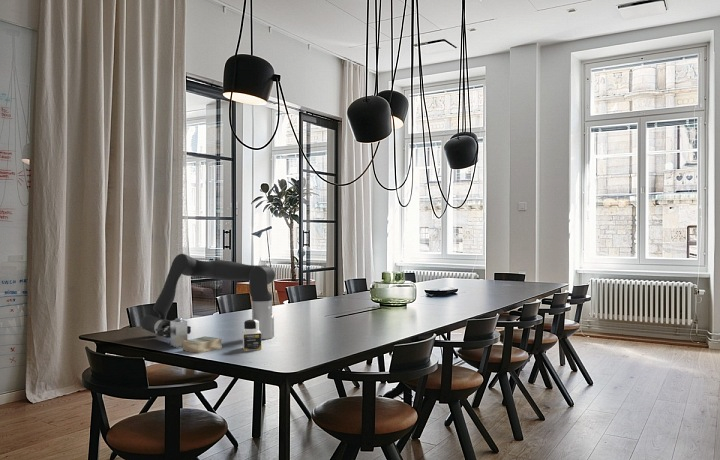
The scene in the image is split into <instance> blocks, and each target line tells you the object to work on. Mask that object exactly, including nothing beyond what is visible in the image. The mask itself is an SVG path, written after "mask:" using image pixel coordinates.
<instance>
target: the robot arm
mask: <svg viewBox="0 0 720 460" xmlns="http://www.w3.org/2000/svg"><path fill="white" fill-rule="evenodd" d="M182 275H184V276H186V277H206V278H209V279H215V280H219V281H229V282H231V281H233V282H235V281H237V282H238V281H247V282H248V285H249V286H248V287H249V295H250V298H251V320H258V321H259V330H260V332H261V340H269V339H272V338H274V337H275V318H274V317H275V316H273V295H272V293H271V292H269V287H268V285H270V284H271V283H273V281H274V280H275V278H276V272H275V270H274V269H273V267H271V266H269V265H266V264H264V265H263V264H262V265H255V264H254V265H253V264H251V265H250V264H245V263H240V262H235V261H230V260H222V259H218V260H217V259H215V260H210V261H206V260H205V261H204V260H199V259H196V258H193V257H191V256H189V255H187V254H185V253H179V254H177V255H176V256H175V257H174V258H173V261H172V263H171V265H170V268H169V272H168V274H167V277H166V279H165V282H164V284H163V286H162V287H163V288H162V290H161V292H160V294H159V295H158V298H157V299H156V301H155V303H154V305H153V307H152V309H153V311H154V312H155V313H158V317H156V316H154V315H151V314H146V315H144V316H143V317H142V318H141V320H140V326H141V328H142V329H143V330H145V331H148V332H150V333H152V334H154V335H156V336H157V337H162V338H163V337H164V338H167V339H171V323H170V321H171V320H169V319H167V317H168V313H169V310H170V309H171V307H172V304H173V303H174V301H175V297H176V291H177V286H178V282H179V279H180V278H181V276H182ZM191 328H192V327H191V326H190V325H187V335H190V334H191V332H192V330H191Z"/></svg>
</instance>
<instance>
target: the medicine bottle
mask: <svg viewBox="0 0 720 460" xmlns="http://www.w3.org/2000/svg"><path fill="white" fill-rule="evenodd" d="M243 326H244V327H243V328H244V330H243V331H242V349H243V351H244V352H248V351H261V350H262V339H261V332H260V330H259V321H258V320H252V319H247V320H244V325H243Z"/></svg>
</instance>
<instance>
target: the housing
mask: <svg viewBox="0 0 720 460" xmlns="http://www.w3.org/2000/svg"><path fill="white" fill-rule="evenodd" d="M169 321H170V323H171V338H170V347H171V346H173V347H172V348H174V347H176V348H175V349H180V348H179V347H183V341H186V340H188V334H187V326H188V320H186V319H185V320H184V319H183V318H182V317H178V318H177V317H176V318H174V320H169Z"/></svg>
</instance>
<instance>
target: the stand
mask: <svg viewBox="0 0 720 460" xmlns="http://www.w3.org/2000/svg"><path fill="white" fill-rule="evenodd" d="M222 346H223V345H222V338H220V337H214V336H213V337H211V336H201V337H195V338H191V339H187V340H186V341H183V348H182V351H183V350H186V351H185V352H187V351H191V352H190V353H193V352H196V353H195V354H201V352H202V353H206V351H207V352H211V351H216V350H220V349H222Z"/></svg>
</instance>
